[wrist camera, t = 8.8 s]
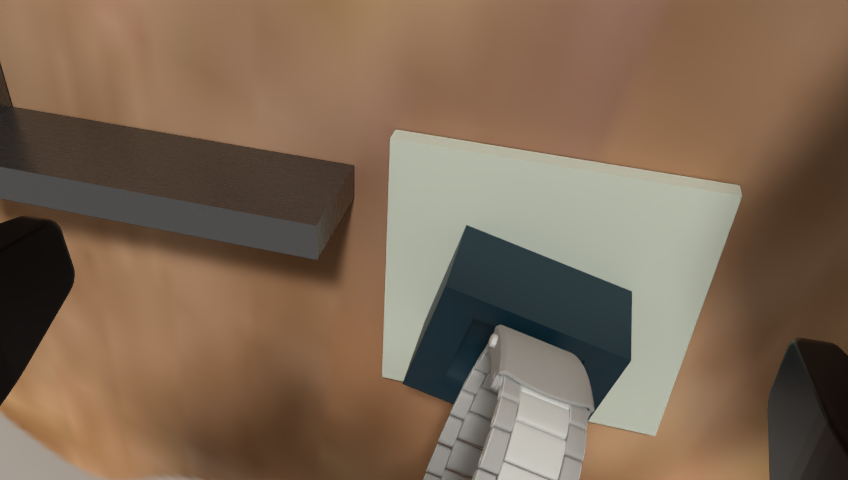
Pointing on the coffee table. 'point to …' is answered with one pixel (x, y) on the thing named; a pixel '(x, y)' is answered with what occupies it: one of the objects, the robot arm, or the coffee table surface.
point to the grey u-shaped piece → (171, 181)
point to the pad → (559, 246)
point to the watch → (518, 360)
